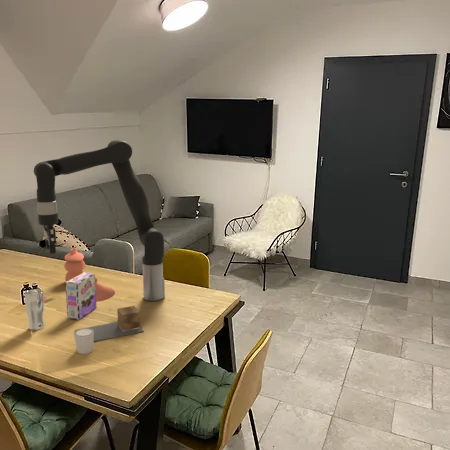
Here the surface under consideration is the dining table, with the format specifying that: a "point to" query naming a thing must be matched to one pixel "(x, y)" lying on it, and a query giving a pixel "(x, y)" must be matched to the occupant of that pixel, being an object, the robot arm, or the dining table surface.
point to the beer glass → (35, 308)
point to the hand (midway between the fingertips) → (51, 250)
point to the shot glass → (84, 340)
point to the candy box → (80, 295)
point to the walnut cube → (128, 318)
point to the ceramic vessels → (75, 269)
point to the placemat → (110, 331)
